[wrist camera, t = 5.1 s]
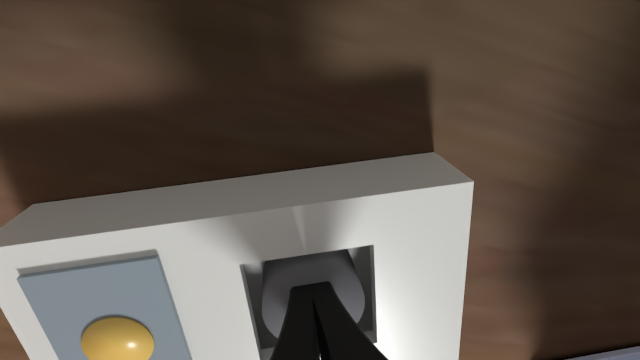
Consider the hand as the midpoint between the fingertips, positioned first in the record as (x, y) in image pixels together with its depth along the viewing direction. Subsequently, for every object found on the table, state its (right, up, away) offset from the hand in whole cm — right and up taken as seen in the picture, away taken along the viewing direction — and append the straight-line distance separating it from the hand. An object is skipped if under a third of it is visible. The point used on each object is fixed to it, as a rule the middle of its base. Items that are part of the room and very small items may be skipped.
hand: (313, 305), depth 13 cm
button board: (-1, -7, +6) cm, 10 cm away
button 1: (0, +1, +2) cm, 2 cm away
